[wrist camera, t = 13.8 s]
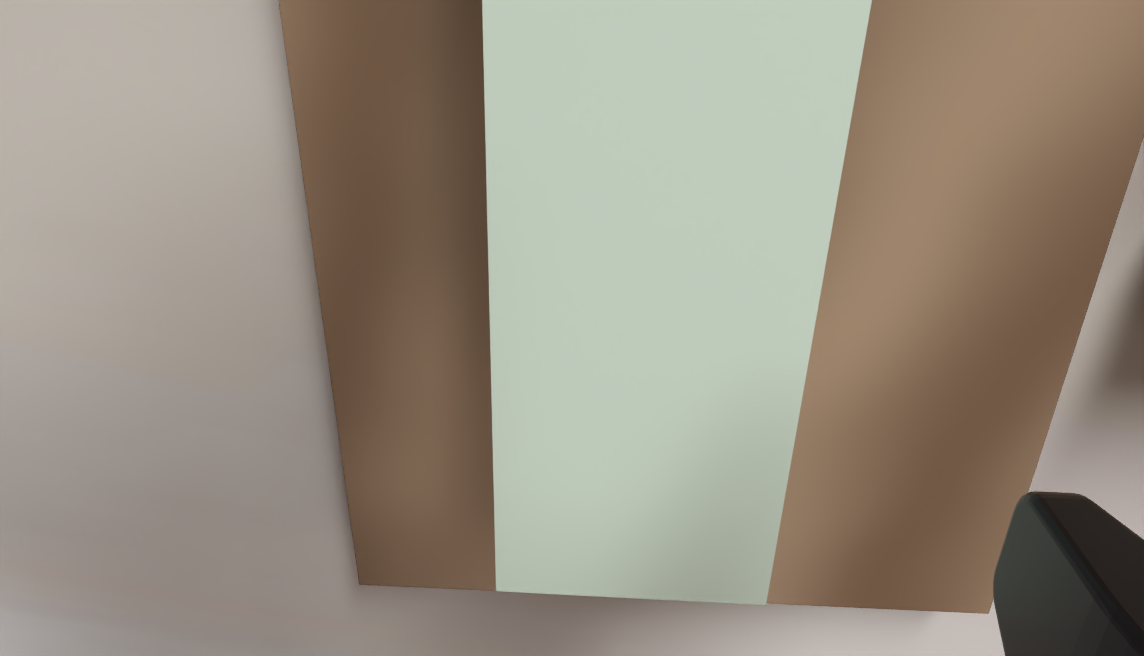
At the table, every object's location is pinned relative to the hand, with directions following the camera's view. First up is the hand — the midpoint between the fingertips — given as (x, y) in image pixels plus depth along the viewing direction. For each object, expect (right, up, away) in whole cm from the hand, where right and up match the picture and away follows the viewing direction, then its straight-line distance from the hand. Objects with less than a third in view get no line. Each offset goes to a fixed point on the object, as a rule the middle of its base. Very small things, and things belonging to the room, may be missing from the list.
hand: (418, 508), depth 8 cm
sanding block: (+2, +5, +9) cm, 11 cm away
